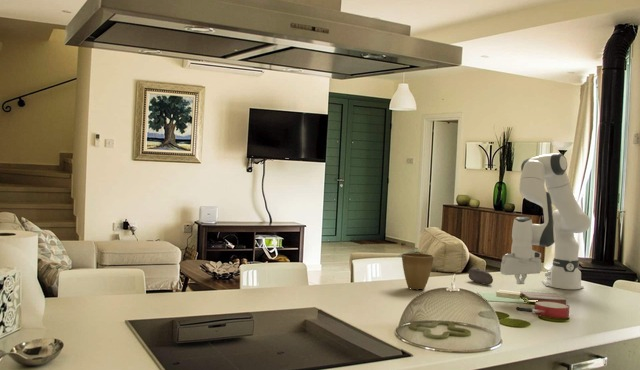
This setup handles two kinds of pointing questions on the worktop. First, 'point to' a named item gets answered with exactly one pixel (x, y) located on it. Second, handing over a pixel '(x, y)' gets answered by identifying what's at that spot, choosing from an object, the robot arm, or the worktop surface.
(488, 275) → the grey stone
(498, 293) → the birch tile
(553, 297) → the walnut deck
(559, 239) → the robot arm
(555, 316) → the red saucepan
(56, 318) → the worktop surface
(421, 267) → the plant pot
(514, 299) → the green mat
